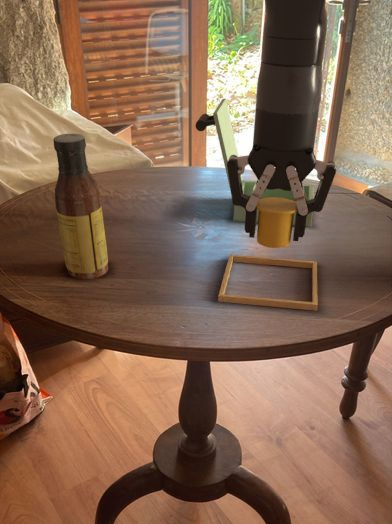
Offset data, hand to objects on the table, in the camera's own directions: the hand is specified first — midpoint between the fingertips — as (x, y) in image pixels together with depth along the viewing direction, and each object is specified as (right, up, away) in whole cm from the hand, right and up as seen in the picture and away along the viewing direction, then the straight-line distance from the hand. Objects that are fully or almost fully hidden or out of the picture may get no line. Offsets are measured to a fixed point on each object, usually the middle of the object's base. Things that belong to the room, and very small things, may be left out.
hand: (274, 236), depth 77 cm
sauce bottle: (-27, -4, +7) cm, 28 cm away
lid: (-5, +20, +22) cm, 30 cm away
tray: (0, -6, +5) cm, 8 cm away
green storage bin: (+4, +9, +28) cm, 29 cm away
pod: (0, -1, 0) cm, 1 cm away
